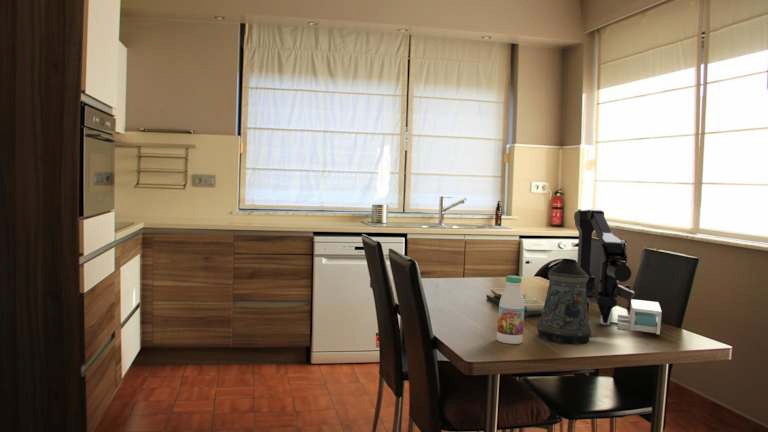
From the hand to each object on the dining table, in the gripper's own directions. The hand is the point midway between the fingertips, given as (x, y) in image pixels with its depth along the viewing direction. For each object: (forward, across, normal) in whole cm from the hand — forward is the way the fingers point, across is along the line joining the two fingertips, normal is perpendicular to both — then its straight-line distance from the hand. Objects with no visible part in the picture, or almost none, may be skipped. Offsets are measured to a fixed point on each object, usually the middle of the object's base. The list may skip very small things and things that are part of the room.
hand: (605, 321), depth 217 cm
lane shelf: (+2, +4, -6) cm, 8 cm away
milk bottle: (+2, -37, +27) cm, 46 cm away
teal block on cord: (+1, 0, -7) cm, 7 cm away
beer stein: (+2, -22, +13) cm, 26 cm away
